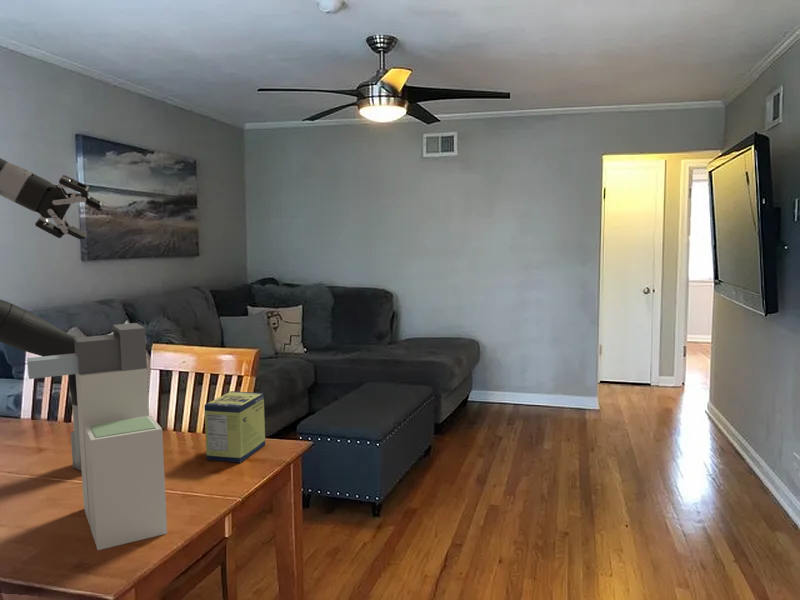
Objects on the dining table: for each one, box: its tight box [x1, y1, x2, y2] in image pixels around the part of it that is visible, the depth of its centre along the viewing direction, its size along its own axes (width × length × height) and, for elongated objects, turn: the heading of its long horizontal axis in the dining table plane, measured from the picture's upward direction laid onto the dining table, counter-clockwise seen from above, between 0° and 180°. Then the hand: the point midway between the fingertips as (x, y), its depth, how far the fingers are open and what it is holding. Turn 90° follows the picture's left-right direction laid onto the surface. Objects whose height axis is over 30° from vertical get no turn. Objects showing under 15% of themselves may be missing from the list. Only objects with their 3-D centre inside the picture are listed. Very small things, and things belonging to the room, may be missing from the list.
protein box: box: [203, 390, 266, 464], centre depth 179 cm, size 10×16×16 cm
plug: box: [26, 334, 122, 380], centre depth 136 cm, size 19×7×7 cm, turn 122°
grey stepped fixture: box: [76, 322, 168, 551], centre depth 136 cm, size 13×22×41 cm, turn 32°
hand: (94, 222), depth 150 cm, fingers open, 8 cm apart
